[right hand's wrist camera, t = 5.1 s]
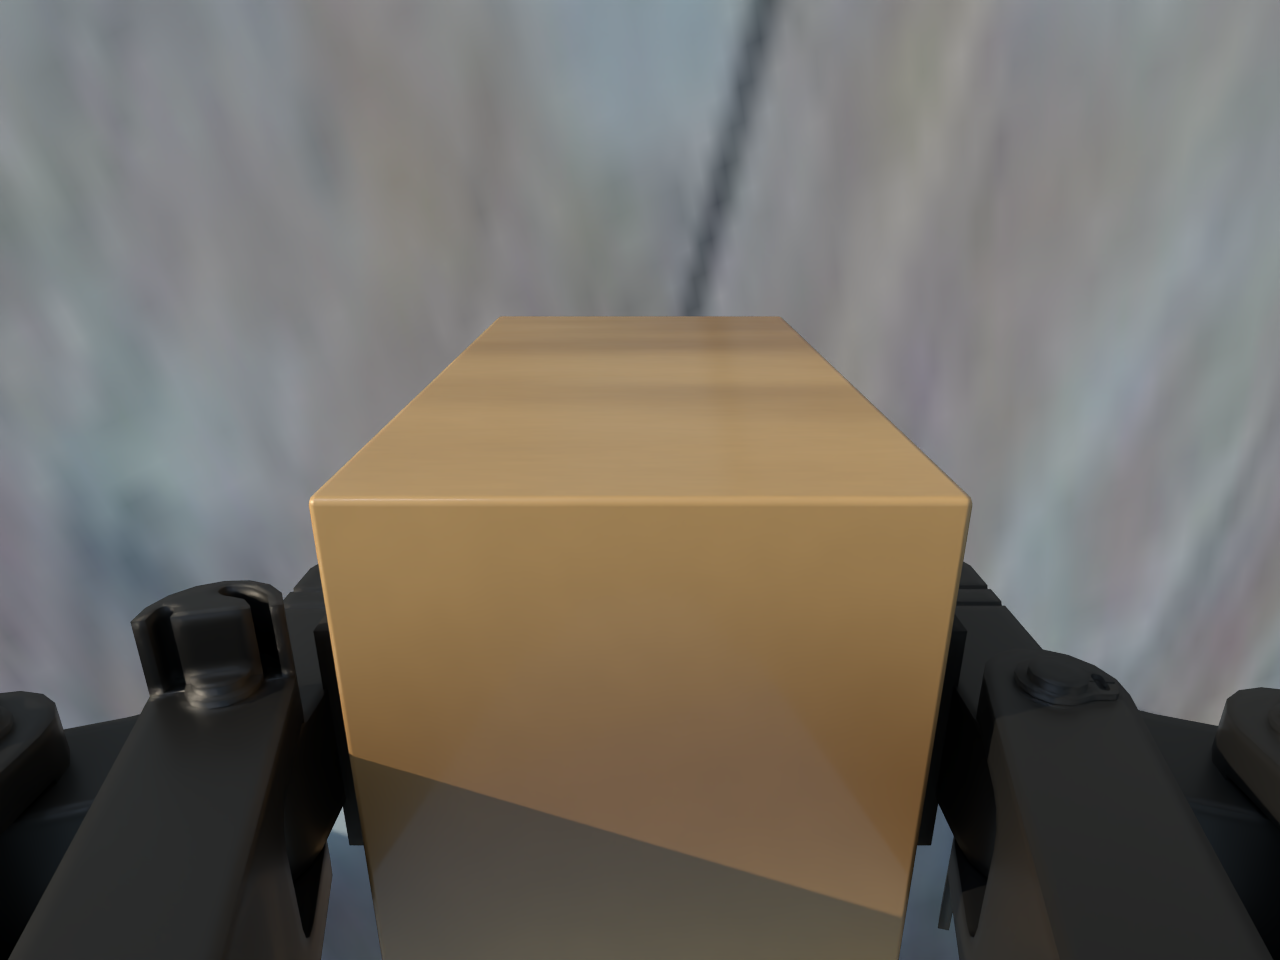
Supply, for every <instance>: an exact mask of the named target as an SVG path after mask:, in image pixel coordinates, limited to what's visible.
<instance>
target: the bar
mask: <svg viewBox="0 0 1280 960" xmlns="http://www.w3.org/2000/svg"><path fill="white" fill-rule="evenodd" d="M309 509H310V515H311V521H312V527H313V533H314V540H315V546H316V552H317V558H318V564H319V571H320V577H321V583H322V589H323V595H324V602H325V608H326V614H327V620H328V626H329V632H330V639H331V645H332V651H333V657H334V663H335V670H336V676H337V682H338V688H339V694H340V701H341V707H342V713H343V719H344V725H345V732H346V738H347V744H348V750H349V756H350V762H351V769H352V775H353V781H354V787H355V793H356V800H357V806H358V812H359V818H360V824H361V831H362V837H363V843H364V849H365V855H366V862H367V868H368V874H369V880H370V886H371V892H372V899H373V905H374V911H375V917H376V923H377V930H378V936H379V942H380V948H381V954H382V960H899V954H900V947H901V941H902V935H903V929H904V923H905V917H906V910H907V904H908V898H909V892H910V886H911V880H912V873H913V867H914V861H915V855H916V849H917V843H918V836H919V830H920V824H921V818H922V812H923V806H924V799H925V793H926V787H927V781H928V775H929V769H930V763H931V756H932V750H933V744H934V738H935V732H936V726H937V719H938V713H939V707H940V701H941V695H942V689H943V682H944V676H945V670H946V664H947V658H948V652H949V645H950V639H951V633H952V627H953V621H954V615H955V608H956V602H957V596H958V590H959V584H960V578H961V571H962V565H963V559H964V553H965V547H966V541H967V535H968V528H969V522H970V516H971V510H972V501H971V497H970V496H969V495H967V494H966V493H965V492H964V491H963V490H962V489H961V488H960V487H959V486H958V485H957V484H956V483H955V482H954V481H953V480H952V479H951V478H950V477H949V476H947V475H946V474H945V473H944V472H943V471H942V470H941V469H940V468H939V467H938V466H937V465H936V464H935V463H934V462H933V461H932V460H931V459H930V458H929V457H928V456H926V455H925V454H924V453H923V452H922V451H921V450H920V449H919V448H918V447H917V446H916V445H915V444H914V443H913V442H912V441H911V440H910V439H909V438H908V437H906V436H905V435H904V434H903V433H902V432H901V431H900V430H899V429H898V428H897V427H896V426H895V425H894V424H893V423H892V422H891V421H890V420H889V419H888V418H887V417H885V416H884V415H883V414H882V413H881V412H880V411H879V410H878V409H877V408H876V407H875V406H874V405H873V404H872V403H871V402H870V401H869V400H868V399H867V398H865V397H864V396H863V395H862V394H861V393H860V392H859V391H858V390H857V389H856V388H855V387H854V386H853V385H852V384H851V383H850V382H849V381H848V380H847V379H846V378H844V377H843V376H842V375H841V374H840V373H839V372H838V371H837V370H836V369H835V368H834V367H833V366H832V365H831V364H830V363H829V362H828V361H827V360H826V359H824V358H823V357H822V356H821V355H820V354H819V353H818V352H817V351H816V350H815V349H814V348H813V347H812V346H811V345H810V344H809V343H808V342H807V341H806V340H805V339H803V338H802V337H801V336H800V335H799V334H798V333H797V332H796V331H795V330H794V329H793V328H792V327H791V326H790V325H789V324H788V323H787V322H786V321H785V320H783V319H782V318H781V317H499V318H498V319H497V320H496V321H495V322H494V323H493V324H492V325H491V326H490V327H489V328H488V329H486V330H485V331H484V332H483V333H482V334H481V335H480V336H479V337H478V338H477V339H476V340H475V341H474V342H473V343H472V344H471V345H470V346H469V347H468V348H467V349H466V350H464V351H463V352H462V353H461V354H460V355H459V356H458V357H457V358H456V359H455V360H454V361H453V362H452V363H451V364H450V365H449V366H448V367H447V368H446V369H445V370H444V371H442V372H441V373H440V374H439V375H438V376H437V377H436V378H435V379H434V380H433V381H432V382H431V383H430V384H429V385H428V386H427V387H426V388H425V389H424V390H423V391H422V392H420V393H419V394H418V395H417V396H416V397H415V398H414V399H413V400H412V401H411V402H410V403H409V404H408V405H407V406H406V407H405V408H404V409H403V410H402V411H401V412H400V413H399V414H397V415H396V416H395V417H394V418H393V419H392V420H391V421H390V422H389V423H388V424H387V425H386V426H385V427H384V428H383V429H382V430H381V431H380V432H379V433H378V434H377V435H375V436H374V437H373V438H372V439H371V440H370V441H369V442H368V443H367V444H366V445H365V446H364V447H363V448H362V449H361V450H360V451H359V452H358V453H357V454H356V455H355V456H353V457H352V458H351V459H350V460H349V461H348V462H347V463H346V464H345V465H344V466H343V467H342V468H341V469H340V470H339V471H338V472H337V473H336V474H335V475H334V476H333V477H332V478H330V479H329V480H328V481H327V482H326V483H325V484H324V485H323V486H322V487H321V488H320V489H319V490H318V491H317V492H316V493H315V494H314V495H313V496H312V497H311V498H310V501H309Z"/></svg>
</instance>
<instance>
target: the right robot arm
mask: <svg viewBox="0 0 1280 960" xmlns="http://www.w3.org/2000/svg"><path fill="white" fill-rule="evenodd" d="M131 626H132V630H133V633H134V637H135V641H136V645H137V648H138V652H139V656H140V660H141V664H142V667H143V671H144V675H145V679H146V683H147V686H148V690H149V694H150V697H149V699H148V701H147V703H146V705H145V707H144V708H143V710H142V712H141V714H140V715H136V716H132V717H127V718H122V719H117V720H112V721H106V722H101V723H96V724H91V725H85V726H80V727H75V728H69V729H64V730H63V727H62V724H61V720H60V717H59V714H58V711H57V708H56V705H55V703H54V702H53V701H52V700H50V699H49V698H48V697H46V696H45V695H44V694H39V693H32V692H24V691H16V692H7V693H0V960H321V955H322V947H323V940H324V933H325V925H326V918H327V911H328V903H329V896H330V889H331V881H332V868H331V861H330V855H329V849H328V844H327V838H328V836H329V834H330V832H331V830H332V828H333V826H334V824H335V821H336V819H337V817H338V815H339V813H340V811H341V809H342V807H343V809H344V815H345V821H346V827H347V833H348V839H349V845H364V843H363V837H362V831H361V824H360V818H359V812H358V806H357V800H356V793H355V787H354V781H353V775H352V769H351V762H350V756H349V750H348V744H347V738H346V732H345V725H344V719H343V713H342V707H341V701H340V694H339V688H338V682H337V676H336V670H335V663H334V657H333V651H332V645H331V639H330V632H329V626H328V620H327V614H326V608H325V602H324V595H323V589H322V583H321V577H320V571H319V564H317V565H316V566H314V567H312V568H311V569H310V570H309V571H308V572H307V573H306V574H305V575H304V577H303V578H302V579H301V580H300V581H299V583H298V584H297V585H296V586H295V587H294V592H290V593H289V594H288V595H287V597H286V598H285V599H284V600H283V598H282V593H281V592H280V591H278V590H277V589H276V588H274V587H273V586H271V585H270V584H265V583H260V582H255V581H250V580H249V581H222V582H217V583H211V584H206V585H200V586H195V587H192V588H189V589H187V590H184V591H181V592H178V593H175V594H172V595H169V596H167V597H165V598H163V599H161V600H159V601H157V602H156V603H154V604H152V605H150V606H148V607H146V608H145V609H144V610H143V611H142V612H141V613H139V614H138V615H137V616H136V617H135V618H134V619H133V620H132V621H131ZM938 804H939V806H940V808H941V810H942V812H943V814H944V816H945V818H946V820H947V822H948V824H949V827H950V829H951V831H952V833H953V835H954V838H953V844H952V849H951V855H950V860H949V866H948V871H947V877H946V882H945V888H944V893H943V899H942V904H941V910H940V916H939V924H938V928H940V929H945V930H949V927H950V922H951V917H952V913H953V916H954V923H955V931H956V938H957V945H958V953H959V960H1280V689H1272V688H1263V687H1260V688H1253V689H1245V690H1239V691H1237V692H1236V693H1235V694H1233V695H1232V696H1231V697H1229V698H1228V699H1227V701H1226V704H1225V707H1224V710H1223V713H1222V716H1221V720H1220V723H1219V726H1215V725H1210V724H1204V723H1199V722H1194V721H1188V720H1183V719H1178V718H1172V717H1167V716H1162V715H1157V714H1152V713H1148V712H1144V711H1140V710H1138V709H1137V707H1136V705H1135V703H1134V701H1133V700H1132V698H1131V696H1130V694H1129V693H1128V692H1127V691H1126V690H1125V689H1124V688H1123V686H1122V685H1121V684H1120V683H1119V682H1118V681H1117V680H1116V679H1115V678H1113V677H1112V676H1110V675H1109V674H1107V673H1106V672H1104V671H1102V670H1101V669H1099V668H1098V667H1096V666H1095V665H1092V664H1090V663H1087V662H1085V661H1082V660H1080V659H1077V658H1074V657H1072V656H1069V655H1066V654H1061V653H1056V652H1052V651H1047V650H1043V649H1042V648H1041V647H1040V646H1039V645H1038V644H1037V642H1036V641H1035V640H1034V639H1033V638H1032V637H1031V635H1030V634H1029V633H1028V632H1027V631H1026V630H1025V628H1024V627H1023V626H1022V625H1021V624H1020V623H1019V621H1018V620H1017V619H1016V618H1015V617H1014V616H1013V614H1012V613H1011V612H1010V611H1009V610H1008V609H1007V608H1006V606H1002V605H1001V601H1000V599H999V598H998V597H997V596H996V595H995V594H994V592H993V591H992V590H991V589H987V584H986V583H985V582H984V581H983V580H982V579H981V577H980V576H979V575H978V574H977V573H976V572H975V570H974V569H973V568H972V567H971V566H970V565H968V564H966V563H965V562H963V565H962V571H961V578H960V584H959V590H958V596H957V602H956V608H955V615H954V621H953V627H952V633H951V639H950V645H949V652H948V658H947V664H946V670H945V676H944V682H943V689H942V695H941V701H940V707H939V713H938V719H937V726H936V732H935V738H934V744H933V750H932V756H931V763H930V769H929V775H928V781H927V787H926V793H925V799H924V806H923V812H922V818H921V824H920V830H919V836H918V843H917V845H931V842H932V836H933V830H934V824H935V819H936V813H937V807H938Z"/></svg>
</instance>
